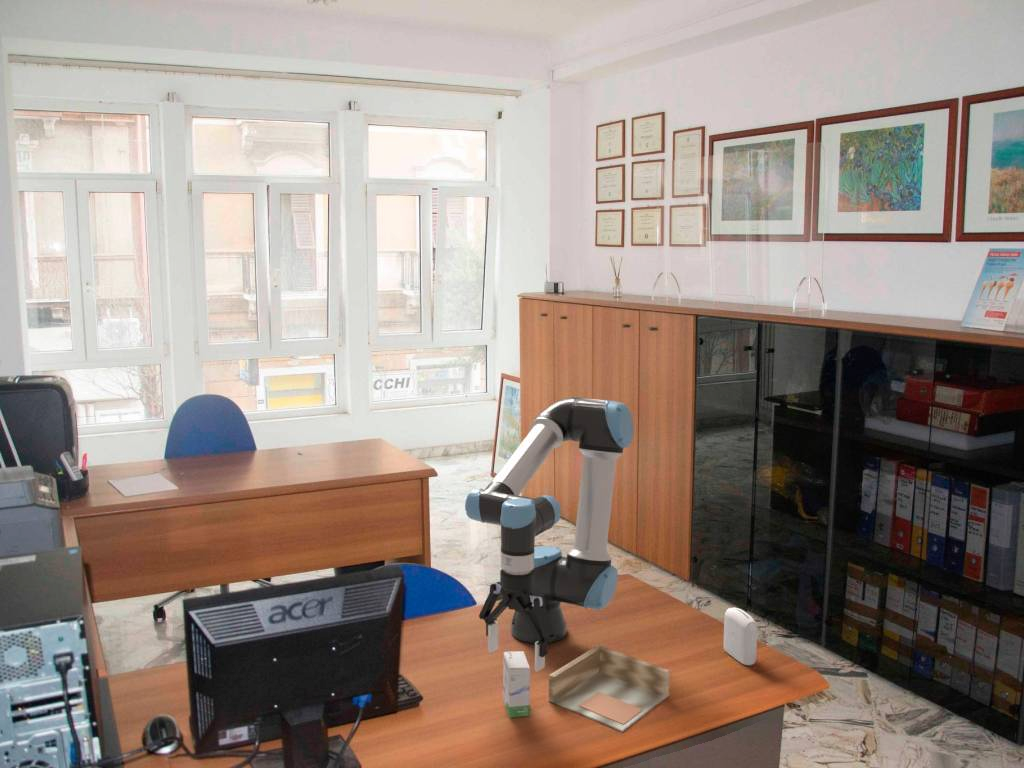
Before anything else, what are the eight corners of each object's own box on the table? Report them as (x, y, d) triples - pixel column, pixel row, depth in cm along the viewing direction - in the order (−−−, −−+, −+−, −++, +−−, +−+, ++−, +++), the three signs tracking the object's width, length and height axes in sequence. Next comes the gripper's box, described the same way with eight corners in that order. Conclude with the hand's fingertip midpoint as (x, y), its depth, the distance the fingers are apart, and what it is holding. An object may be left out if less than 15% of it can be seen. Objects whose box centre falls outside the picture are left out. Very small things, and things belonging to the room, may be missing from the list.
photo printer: (720, 649, 228) (722, 604, 226) (734, 646, 229) (736, 602, 227) (743, 667, 218) (746, 620, 216) (758, 664, 220) (760, 618, 218)
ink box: (530, 716, 195) (530, 667, 193) (508, 718, 194) (508, 668, 192) (523, 696, 203) (523, 649, 201) (502, 698, 202) (502, 651, 201)
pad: (578, 706, 199) (578, 705, 199) (598, 692, 205) (598, 691, 205) (623, 724, 191) (623, 723, 191) (642, 710, 197) (642, 709, 197)
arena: (548, 700, 202) (549, 675, 200) (597, 669, 217) (598, 644, 216) (622, 732, 189) (623, 704, 188) (668, 695, 204) (669, 670, 203)
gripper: (464, 560, 198) (463, 648, 201) (551, 588, 183) (549, 683, 186) (486, 552, 204) (485, 638, 207) (572, 578, 188) (570, 670, 191)
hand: (515, 659), depth 196 cm, fingers open, 13 cm apart
